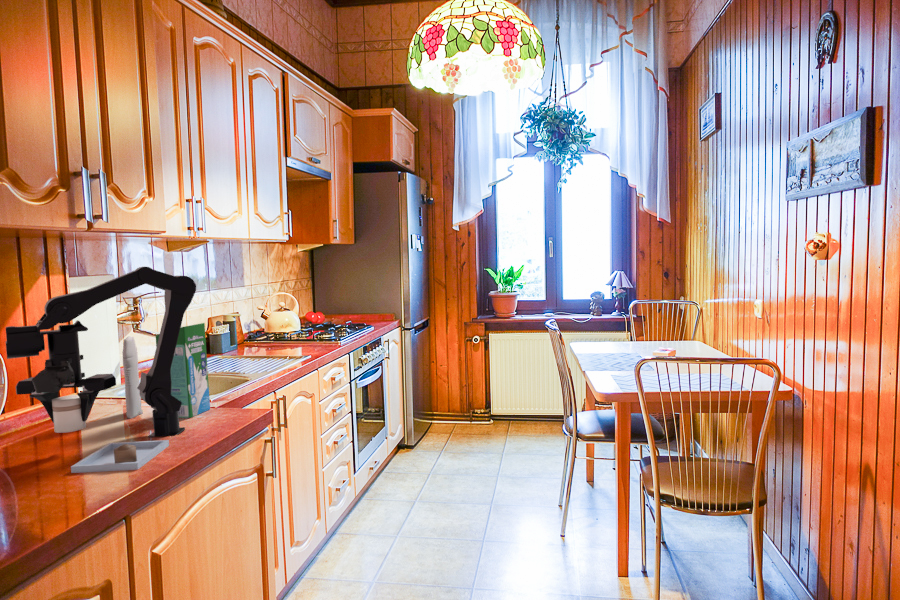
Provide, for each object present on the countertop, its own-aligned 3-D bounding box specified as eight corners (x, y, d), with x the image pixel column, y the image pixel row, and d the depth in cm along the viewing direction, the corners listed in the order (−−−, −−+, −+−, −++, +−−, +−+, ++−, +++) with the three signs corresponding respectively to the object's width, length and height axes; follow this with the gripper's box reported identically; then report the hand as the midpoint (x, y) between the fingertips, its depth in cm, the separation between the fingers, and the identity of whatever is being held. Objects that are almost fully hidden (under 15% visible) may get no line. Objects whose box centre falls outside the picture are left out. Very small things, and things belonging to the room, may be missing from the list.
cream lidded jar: (64, 425, 134) (62, 395, 133) (92, 424, 134) (89, 394, 134) (48, 433, 128) (45, 402, 127) (76, 432, 128) (74, 400, 128)
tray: (110, 450, 132) (109, 442, 132) (169, 447, 133) (168, 439, 133) (71, 475, 117) (70, 466, 117) (138, 471, 118) (137, 463, 118)
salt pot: (121, 461, 123) (119, 441, 123) (140, 460, 123) (139, 441, 123) (111, 468, 119) (109, 448, 119) (131, 467, 119) (129, 447, 119)
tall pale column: (138, 418, 160) (132, 338, 158) (121, 419, 159) (115, 339, 157) (146, 408, 170) (141, 333, 168) (131, 410, 169) (125, 334, 167)
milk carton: (182, 408, 168) (176, 322, 167) (210, 409, 167) (204, 322, 165) (161, 417, 160) (154, 326, 158) (190, 418, 158) (184, 326, 156)
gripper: (-6, 361, 121) (1, 434, 122) (87, 357, 122) (93, 430, 123) (29, 352, 132) (35, 420, 133) (114, 348, 133) (119, 416, 134)
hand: (70, 421), depth 131 cm, fingers closed on cream lidded jar, 6 cm apart
